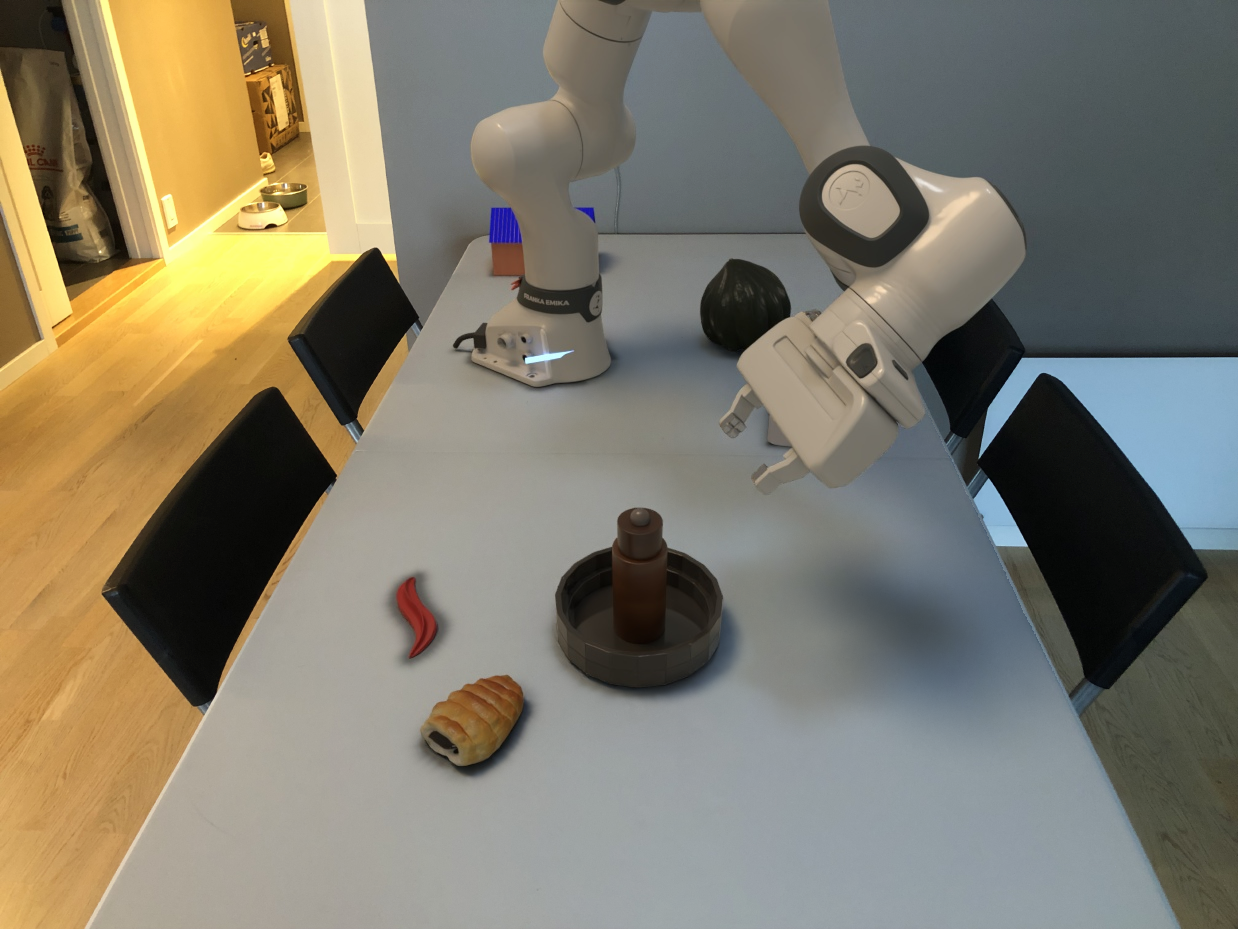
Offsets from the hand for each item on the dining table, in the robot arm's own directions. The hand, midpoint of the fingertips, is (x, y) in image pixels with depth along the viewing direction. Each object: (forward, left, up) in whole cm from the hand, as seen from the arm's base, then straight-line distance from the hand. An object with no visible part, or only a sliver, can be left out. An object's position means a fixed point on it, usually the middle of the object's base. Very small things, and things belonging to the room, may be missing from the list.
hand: (740, 457), depth 78 cm
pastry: (-14, -24, -19) cm, 34 cm away
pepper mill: (-7, -6, -19) cm, 21 cm away
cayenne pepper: (-28, -15, -19) cm, 37 cm away
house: (-72, +78, -19) cm, 108 cm away
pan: (-7, -6, -19) cm, 21 cm away
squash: (-23, +62, -19) cm, 69 cm away
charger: (-6, +42, -19) cm, 47 cm away
